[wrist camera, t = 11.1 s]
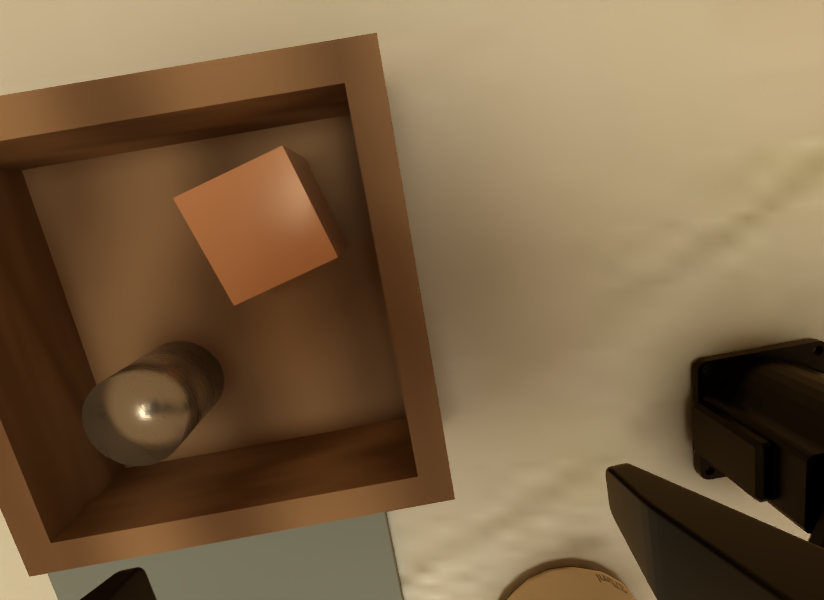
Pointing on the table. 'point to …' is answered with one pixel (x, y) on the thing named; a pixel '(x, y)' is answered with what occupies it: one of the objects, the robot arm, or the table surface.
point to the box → (207, 310)
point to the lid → (265, 566)
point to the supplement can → (571, 586)
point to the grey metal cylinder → (152, 403)
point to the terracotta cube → (262, 223)
